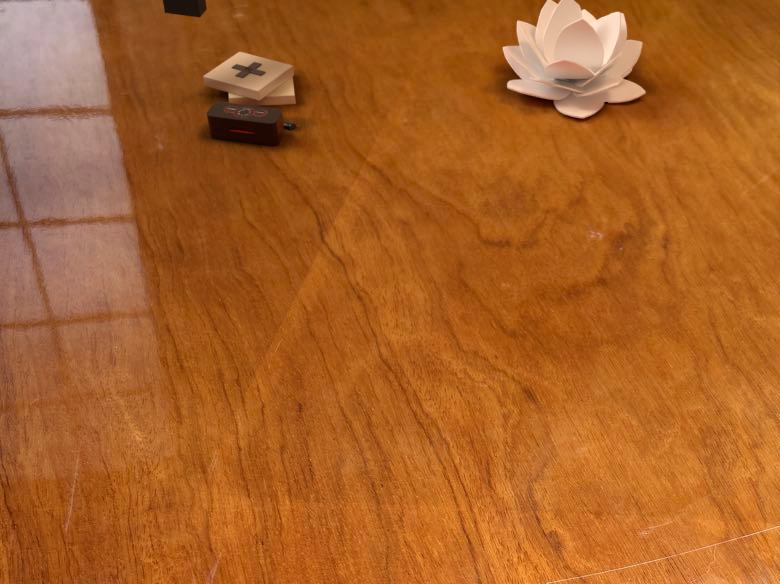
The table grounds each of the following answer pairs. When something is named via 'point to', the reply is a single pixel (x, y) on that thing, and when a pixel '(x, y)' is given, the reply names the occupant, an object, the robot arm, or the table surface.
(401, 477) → the table surface
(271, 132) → the brown electronic gadget
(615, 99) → the lotus flower
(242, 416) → the table surface
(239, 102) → the tile pile
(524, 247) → the table surface
